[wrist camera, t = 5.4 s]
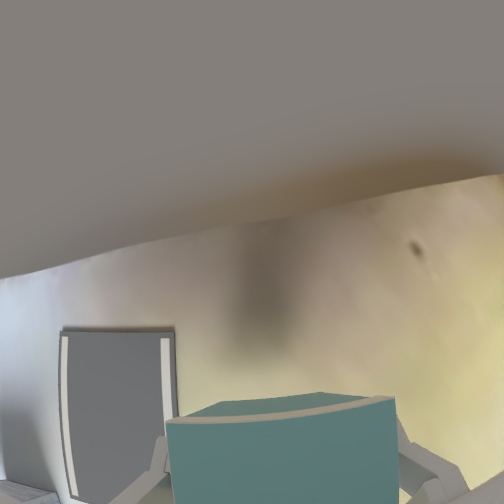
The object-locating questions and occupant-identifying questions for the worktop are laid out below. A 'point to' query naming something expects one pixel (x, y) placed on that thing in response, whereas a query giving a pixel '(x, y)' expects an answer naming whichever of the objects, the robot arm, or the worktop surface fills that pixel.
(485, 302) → the worktop surface
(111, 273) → the worktop surface
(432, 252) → the worktop surface
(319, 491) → the tea box
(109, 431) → the mat
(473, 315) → the worktop surface
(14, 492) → the medicine box
